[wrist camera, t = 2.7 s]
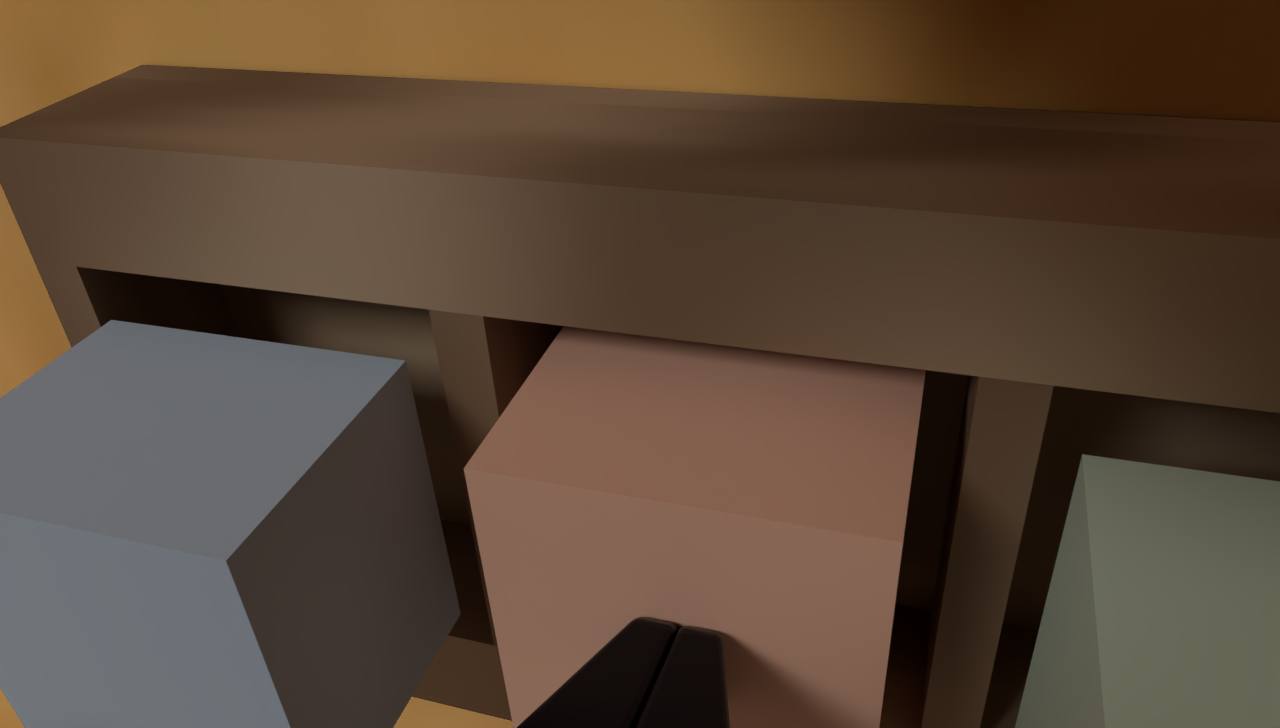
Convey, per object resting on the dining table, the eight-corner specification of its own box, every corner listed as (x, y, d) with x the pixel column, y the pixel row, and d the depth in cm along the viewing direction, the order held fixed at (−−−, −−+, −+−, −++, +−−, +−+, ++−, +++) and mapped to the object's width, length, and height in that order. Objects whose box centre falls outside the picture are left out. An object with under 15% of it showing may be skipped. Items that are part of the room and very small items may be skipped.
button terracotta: (929, 342, 10) (903, 541, 8) (895, 603, 12) (866, 824, 10) (580, 302, 11) (463, 467, 9) (604, 549, 13) (515, 737, 11)
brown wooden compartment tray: (1736, 145, 8) (1962, 293, 6) (1384, 749, 13) (1452, 949, 11) (141, 64, 13) (-21, 135, 11) (295, 533, 17) (200, 645, 15)
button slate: (406, 361, 10) (226, 560, 8) (460, 614, 12) (331, 830, 10) (111, 320, 11) (-125, 487, 9) (208, 560, 14) (36, 745, 11)
